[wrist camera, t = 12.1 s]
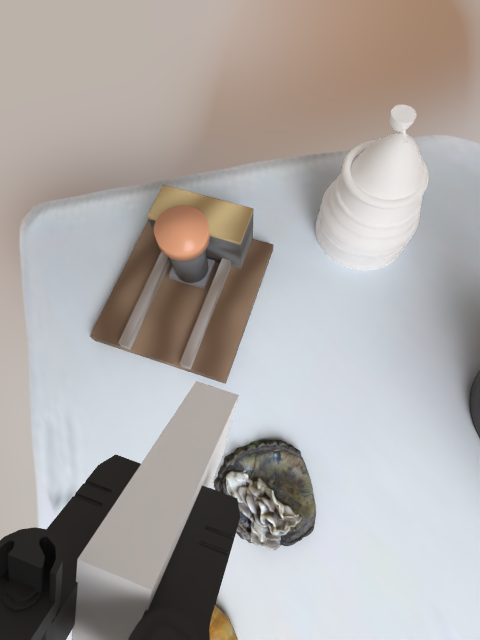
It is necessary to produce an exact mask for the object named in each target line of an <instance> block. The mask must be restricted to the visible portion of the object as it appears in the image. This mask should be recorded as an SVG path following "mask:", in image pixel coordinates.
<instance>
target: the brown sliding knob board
mask: <svg viewBox="0 0 480 640" xmlns="http://www.w3.org/2000/svg"><path fill="white" fill-rule="evenodd" d="M180 205H186V206H191V207H194V208H196V209H198V210H200V211H201V212H202V213H203V214H204V215H205V217H206V219H207V221H208V226H209V233H210V241H209V244H208V247H207V248H206V256H207V259H211V260H214V261H215V265H214V268H213V270H212V273H211V275H210V278H209V280H208V282H207V285H206V287H205V289H202V288H199V287H196V286H192V285H189V284H186V283H182V282H179V281H176V280H172V279H169V276H168V275H169V273H170V271H171V268H172V266H173V264H172V261H171V259H170V258H169V257H167V256H166V255H165V254H163V253H162V251H161V250H160V248H159V246H158V243H157V240H156V238H155V235H154V225H155V222H156V220H157V218H158V217H159V215H160V214H161V213H163V212H164V211H165V210H167V209H169V208H171V207H174V206H180ZM148 219H149V220H148V222H147V224H146V226H145V228H144V230H143V232H142V234H141V236H140V238H139V240H138V242H137V244H136V246H135V248H134V250H133V252H132V254H131V256H130V258H129V260H128V262H127V264H126V266H125V268H124V270H123V272H122V274H121V276H120V278H119V280H118V282H117V284H116V286H115V288H114V290H113V292H112V294H111V296H110V298H109V299H108V301H107V303H106V305H105V307H104V309H103V311H102V313H101V315H100V317H99V319H98V321H97V323H96V325H95V327H94V329H93V331H92V333H91V335H90V337H91V338H92V339H93V340H95V341H98V342H101V343H104V344H107V345H110V346H113V347H116V348H119V349H122V350H125V351H128V352H131V353H134V354H137V355H140V356H143V357H147V358H150V359H153V360H156V361H159V362H162V363H165V364H168V365H171V366H174V367H177V368H180V369H183V370H186V371H189V372H192V373H195V374H198V375H201V376H204V377H207V378H210V379H213V380H216V381H219V382H222V383H225V384H226V381H227V378H228V375H229V373H230V370H231V367H232V364H233V361H234V358H235V356H236V353H237V350H238V347H239V344H240V341H241V339H242V336H243V333H244V330H245V327H246V325H247V322H248V319H249V316H250V313H251V310H252V308H253V305H254V302H255V299H256V296H257V293H258V291H259V288H260V285H261V282H262V279H263V276H264V274H265V271H266V268H267V265H268V262H269V259H270V257H271V254H272V251H273V244H269V243H266V242H262V241H258V240H255V239H253V208H249V207H245V206H242V205H238V204H234V203H230V202H227V201H223V200H219V199H215V198H212V197H208V196H204V195H200V194H197V193H193V192H189V191H185V190H182V189H178V188H174V187H170V186H167V185H163V186H162V188H161V190H160V192H159V194H158V196H157V198H156V200H155V202H154V204H153V206H152V208H151V210H150V212H149V214H148Z"/></svg>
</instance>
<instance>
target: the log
mask: <svg viewBox="0 0 480 640" xmlns="http://www.w3.org/2000/svg"><path fill="white" fill-rule="evenodd" d="M214 486H215V489H216V491H219V492H221V493H224V494H227V495H229V496H232V497H235V498H237V499H238V505H239V512H240V520H239V524H238V527H237V530H236V532H237V534H238V535H239V536H240V538H242V539H246V540H247V541H248V542H249V543H254V544H256V545H258V546H263V545H264V546H265V547H266V548H267V549H269V550H276V549H278V548H279V547H280V545H284V546H290V545H293V544H295V543H296V542H298V541H300V540H302V538H303V537H306V536H308V535H309V534H310V533H311V532H312V531H313V529H314V524H315V517H316V506H315V500H314V494H313V488H312V484H311V479H310V477H309V473H308V471H307V468H306V465H305V463H304V461H303V458H302V457H301V453H300V451H299V450H297V449H296V448H294V447H293V446H292V445H288V444H287V443H286V442H284V441H281V440H259V441H253V442H251V443H250V444H249V445H246V446H244V447H239V448H237V449H236V451H235V452H234V453H231V454H230V455H228V456H226V457H225V459H224V465H223V466H222V467H221V468H220V471H219V472H218V477H217V479H216V480H215V483H214Z"/></svg>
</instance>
